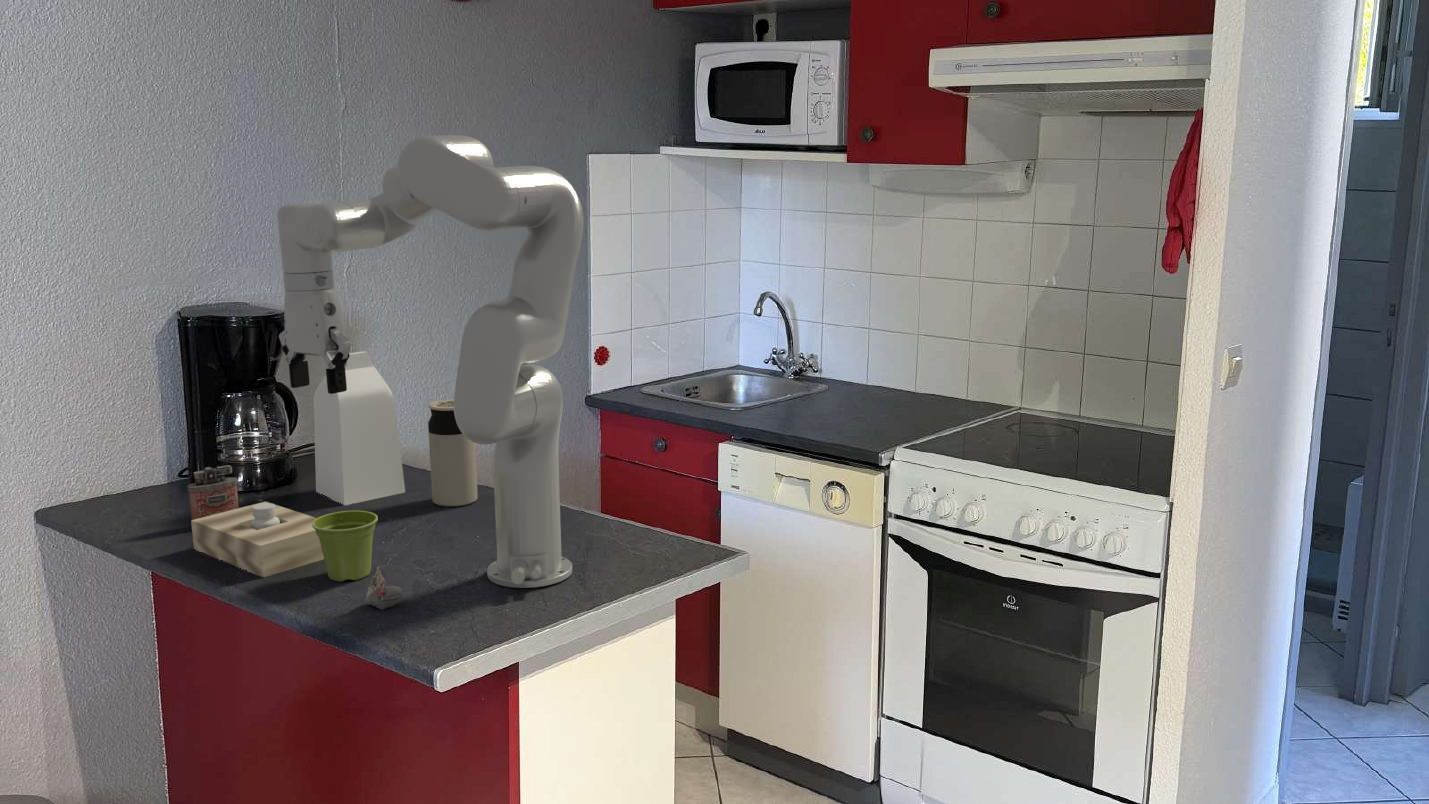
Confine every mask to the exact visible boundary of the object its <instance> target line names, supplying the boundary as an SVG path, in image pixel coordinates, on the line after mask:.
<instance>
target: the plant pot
mask: <svg viewBox="0 0 1429 804" xmlns="http://www.w3.org/2000/svg"><path fill="white" fill-rule="evenodd" d="M315 518H316V519H315V520H314V521H313V522H312V527H313V528H314V529H315V530H316V534H317V536H318V537H319V540H320V544H321V548H322V552H323V556H324V559H323V561H324V564H325V568H326V572H327V576H328V578H329V579H330V580H331V581H336V582H344V581H346V580H352V581H357V580H361V579H363V578H365V577H367V576H369V575H370V573H371V570H372V552H373V540H374V539H373V538H374V531H375V528H376V523H377V522H378V521H379V520H378V519H379V517H378V515H377V514H376V513H374V512H371V511H367V510H344V511H337V512H336V511H335V512H332V513H327V514H324V515H320V516H318V517H315Z"/></svg>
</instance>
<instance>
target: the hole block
mask: <svg viewBox="0 0 1429 804" xmlns="http://www.w3.org/2000/svg"><path fill="white" fill-rule="evenodd" d="M262 503H270V502H269V501H262V502H259V503H254V504H251V505H246V506H243V507H239V508H238V509H234V510H230V511H226V512H222V513H218V514H215V515H211V516H207V517H203V518H199V519H195V520H192V519H191V520H190V522H191V523H192V527H191V532H192V542H193V550H194V549H195V550H197V551H199V552H204V553H206V554H208V555H210V556H212V557H215V558H217V559H219V560H218V561H220V560H223V561H225V562H228V563H230V564H232V565H235V566H236V567H235V566H234V567H235V568H238V567H239V568H238V569H240V568H241V569H240V570H243V569H244V570H243V571H245V570H247V571H246V572H247V573H250V572H251V574H253V575H256V576H258V577H260V578H263V577H264V578H267V577H270V576H274V575H276V574H280V573H283V572H288V571H291V570H293V569H296V568H297V569H298V568H300V567H304V566H306V565H309V564H313V563H317V562H320V561H324V556H323V552H322V548H321V544H320V540H319V537H318V536H317V534H316V530H315V529H314V528H313V527H312V522H313V521H314V520H315V519H316V518H317V517H315V516H311V515H308V514H306V513H302V512H299V511H295V510H293V509H290V508H286V507H285V506H284V507H283V506H280V505H277V504H275V506H276V515H275V517H277V518H279V520H280V524H278V525H274V526H270V527H267V528H263V529H259V530H255V529H252V528H251V527H250V523H251V521H252V520H253V519H255V517H253V513H252V507H253V506H254V505H257V504H262ZM197 551H196V552H197ZM199 552H198V553H199ZM210 556H209V557H210ZM212 557H211V558H212ZM215 558H214V559H215ZM217 559H216V560H217ZM225 562H224V563H225ZM230 564H229V565H230ZM232 565H231V566H232Z"/></svg>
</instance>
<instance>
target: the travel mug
mask: <svg viewBox="0 0 1429 804" xmlns="http://www.w3.org/2000/svg"><path fill="white" fill-rule="evenodd" d="M428 408H429V409H430V413H431V416H430V418H429V420H428V422H427V425H428V426H427V427H428V444H429V445H428V447H429V459H430V460H429V463H430V465H429V466H430V478H431V480H430V481H431V483H430V484H431V497H432V503H434V504H436V505H437V506H441V507H449V508H451V507H452V508H453V507H454V508H455V507H463V506H468V505H470V504H473V503H474V502H476V501H477V500H478V498H479V497H478V495H479V494H478V480H477V479H478V478H477V459H476V443H475V442H472V441H470V440H469V439H468V438H466V437H465V436H464V435H463V434H462V432H461V431H460V429H459V427H458V425H457V423H456V419H455V415H454V398H453V399H440V400H436V401H435V400H434V401H432V402H430V403H429V404H428Z"/></svg>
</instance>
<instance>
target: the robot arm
mask: <svg viewBox="0 0 1429 804" xmlns="http://www.w3.org/2000/svg"><path fill="white" fill-rule="evenodd" d="M396 163H397V164H396V165H394V166H392V167H390V168H388V169H387V171H386V172H385V173H384V175H383V178H382V183H381V186H382V187H381V189H382V193H380V194H378V195H375V196H373V197H371V198H368V199H364V200H349V201H348V200H347V201H335V202H324V203H317V202H316V203H315V202H314V203H309V202H307V203H290V204H289V203H287V204H284V205H281V207H279V209H278V210H277V225H278V226H277V227H278V237H279V246H280V256H281V257H280V258H281V267H282V278H283V287H284V289H283V290H284V302H283V303H284V305H283V306H284V308H283V309H284V310H283V311H284V312H283V313H284V314H283V315H284V319H283V320H284V330H283V331H282V332H280V333H279V335H278V338H279V341H280V344H281V346H282V351H283V353H284V355H285V356H286V357H285V361H286V363H287V364H288V370H289V372H288V373H289V381H290V382H289V383H290V387H291V388H293V389H297V388H300V387H301V388H302V387H307V386H309V385H310V383H311V382H310V374H309V372H310V370H309V361H308V360H306V357H307V355H308V356H315V357H322V358H323V360H324V361H325V363H326V365H327V368H326V369H325V373H326V374H325V376H326V377H327V388H328V393H329V394H334V393H339V392H344V391H346V390H347V385H346V373H345V367H346V366H347V360H348V358H349V353H351V352H350V350H351V347H352V341H351V340H350V339H349V338H347V335H346V328H345V327H346V326H345V321H344V316H343V310H342V305H341V300H340V299H339V295H338V292H337V290H336V289H335V282H334V281H335V280H334V271H333V270H334V269H333V267H334V266H333V258H332V257H333V256H332V254H333V253H340V252H341V253H342V252H350V251H357V250H364V249H365V250H366V249H367V250H368V249H373V248H379V247H381V246H383V245H387V244H388V243H391V242H393V241H395V240H397V239H399V238H401V237H403V236H405V235H408V234H409V233H411V232H412V231H414V230H415V229H417V227H418V226H419V225H420V224H421V223H422V220H423V219H425V218H427V217H429V216H430V215H431V216H432V215H433V214H435V213H437V212H442V213H443V214H446V216H449V217H450V218H453V219H454V220H457V221H459V222H461V223H463V224H465V225H467V226H468V227H471V228H474V229H476V230H480V231H484V232H485V231H486V232H499V231H508V230H515V229H518V230H519V229H526V230H527V234H526V237H525V238H524V240H523V242H522V244H521V246H520V248H519V250H518V252H517V255H515V256H516V257H515V260H514V263H513V269H512V275H511V276H512V277H511V282H510V286H509V291H508V293H507V294H508V295H507V296H506V297H505V298H504V299H500V300H493V301H490V302H487V303H485V304H483V305H482V306H480V307H479V308H477V309H476V310H475V311H473V313H472V314H471V315H470V317H469V319H468V321H467V323H466V324H465V328H464V329H463V334H462V338H461V344H460V351H459V358H458V366H457V371H456V372H457V373H456V379H455V385H454V386H455V387H454V395H453V399H454V415H455V419H456V423H457V425H458V427H459V429H460V431H461V432H462V434H463V435H464V436H465V437H466V438H468V439H469V440H470V441H472V442H475V444H478V445H492V444H495V446H494V450H493V460H492V463H493V464H492V466H493V467H492V469H493V470H492V473H493V492H494V494H493V495H494V513H495V514H494V516H495V538H496V540H495V541H496V559H497V560H495V561H493V562H492V563H490V564H489V565H488V567H487V569H486V574H487V579H489V580H490V582H491V583H494V584H496V585H498V586H503V587H505V588H506V587H507V588H514V589H515V588H516V589H528V588H529V589H530V588H533V589H534V588H541V587H547V586H551V585H554V584H558V583H561V582H563V581H564V580H567V579H568V578H569V577H570V576H571V575H572V573H573V563H572V562H571V560H569V559H568V558H566V557H564V556H562V529H561V528H562V527H561V503H560V502H561V500H560V499H561V498H560V496H561V495H560V474H559V473H560V467H559V466H560V465H559V463H560V462H559V460H560V459H559V443H560V429H561V423H562V422H561V421H562V417H563V407H564V398H563V391H562V387H561V383H560V382H559V380H558V379H557V377H556V376H555V375H554V374H553V373H552V372H551V371H550V370H548V369H547V368H545V367H543V366H541V365H538V364H537V365H536V364H533V363H536V362H540V361H543V360H546V359H548V358H551V357H552V356H554V355H555V354H556V353H557V352H559V350H560V348H561V346H562V344H563V342H564V338H565V333H566V327H567V320H568V315H569V309H570V303H571V297H572V291H573V284H574V276H575V270H576V266H577V263H578V256H579V253H580V248H581V244H582V240H583V233H584V211H583V206H582V203H581V200H580V198H579V195H578V193H577V191H576V190H575V187H573V186H572V184H571V183H570V181H569V180H567V179H566V177H564V176H563V175H562V174H560V173H559V172H557V171H555V170H553V169H551V168H547V167H543V166H538V165H537V166H536V165H515V166H499V167H498V166H497V167H494V159H493V156H492V154H491V152H490V150H489V148H487V146H486V145H485V144H483V142H481V141H480V140H478V139H477V138H474V137H472V136H468V135H460V134H459V135H458V134H449V135H444V134H442V135H437V134H436V135H421V136H418V137H416V138H413V139H412V140H410V141H409V142H408V143H407V144H406V145H404V147H403V148H402V149H401V151H400V153H399V155H398V158H397V162H396ZM334 355H335V357H334ZM332 356H333V357H334V358H333V357H332Z"/></svg>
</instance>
